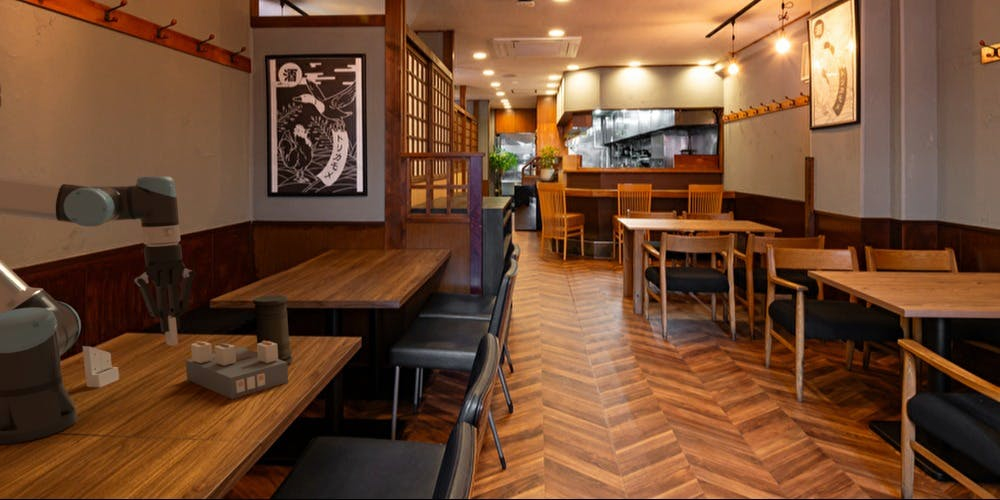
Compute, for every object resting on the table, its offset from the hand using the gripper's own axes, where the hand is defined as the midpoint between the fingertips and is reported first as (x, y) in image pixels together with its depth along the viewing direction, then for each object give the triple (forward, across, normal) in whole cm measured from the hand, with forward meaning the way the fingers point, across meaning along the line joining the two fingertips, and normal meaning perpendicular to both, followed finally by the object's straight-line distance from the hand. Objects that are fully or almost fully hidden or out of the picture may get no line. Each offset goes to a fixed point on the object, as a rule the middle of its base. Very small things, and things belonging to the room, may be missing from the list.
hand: (172, 344), depth 141 cm
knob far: (+6, +7, 0) cm, 9 cm away
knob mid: (+6, +9, -6) cm, 12 cm away
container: (+11, +24, -1) cm, 27 cm away
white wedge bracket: (+11, -9, +19) cm, 24 cm away
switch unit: (+11, +12, -6) cm, 17 cm away
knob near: (+6, +16, -13) cm, 22 cm away
